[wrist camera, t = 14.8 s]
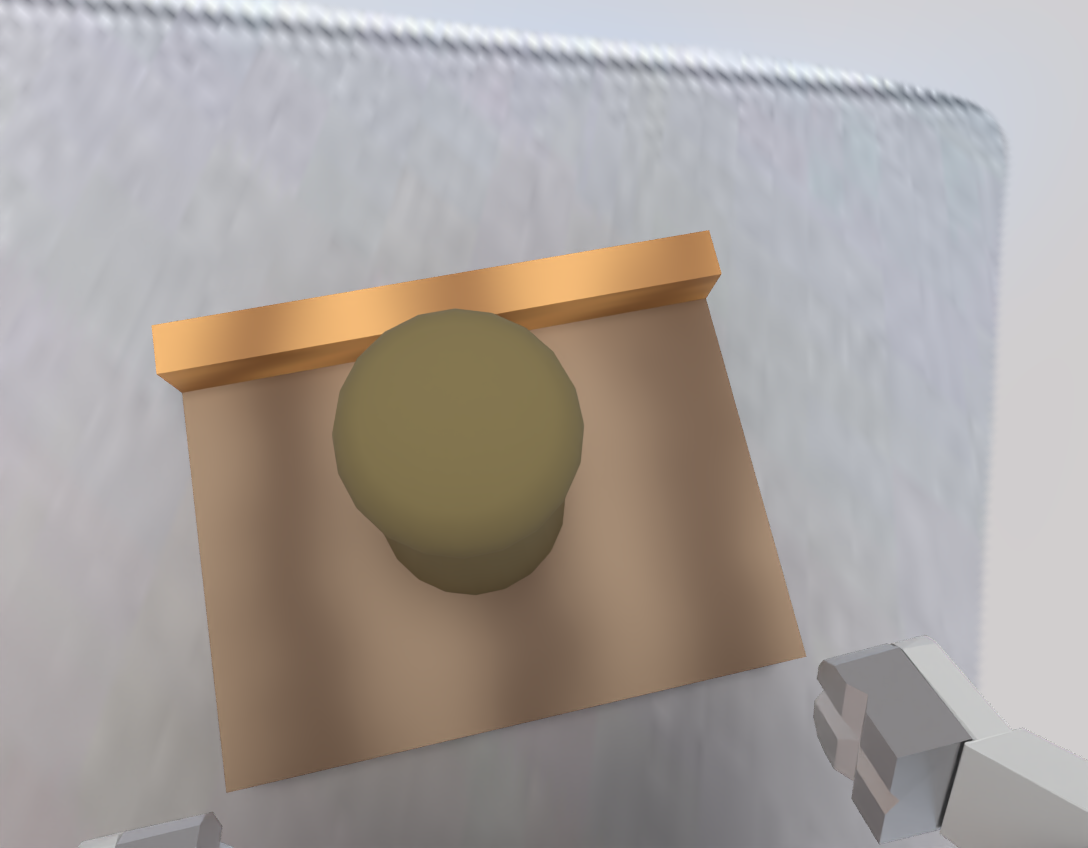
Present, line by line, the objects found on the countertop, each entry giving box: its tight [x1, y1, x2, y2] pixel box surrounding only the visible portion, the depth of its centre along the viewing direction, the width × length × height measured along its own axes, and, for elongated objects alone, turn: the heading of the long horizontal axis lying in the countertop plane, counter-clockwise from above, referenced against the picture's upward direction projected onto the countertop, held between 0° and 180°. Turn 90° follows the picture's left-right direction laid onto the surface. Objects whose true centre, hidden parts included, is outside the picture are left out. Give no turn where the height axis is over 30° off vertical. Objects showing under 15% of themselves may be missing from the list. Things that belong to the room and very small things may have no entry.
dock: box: [152, 230, 806, 793], centre depth 26 cm, size 18×14×5 cm
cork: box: [332, 308, 584, 595], centre depth 20 cm, size 6×6×11 cm
